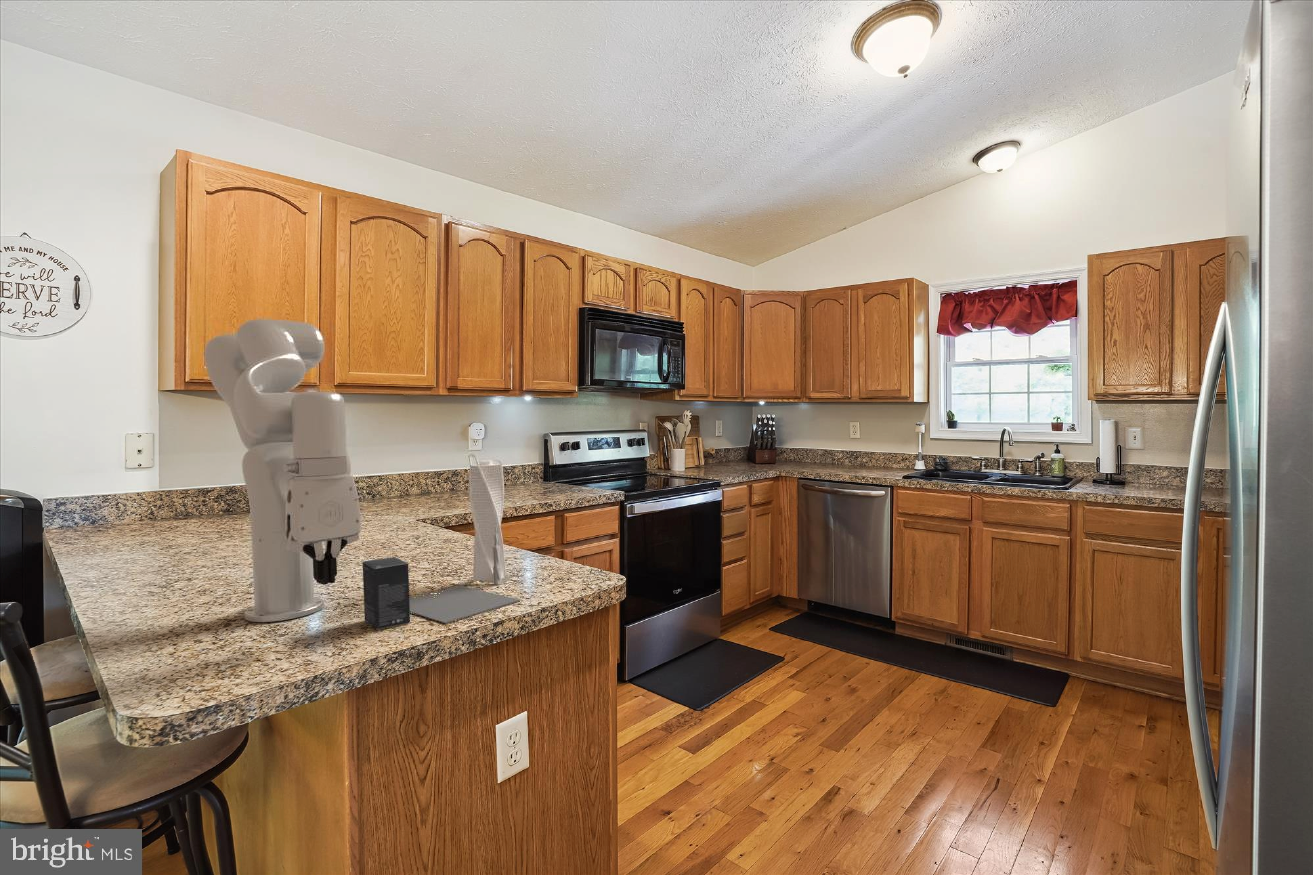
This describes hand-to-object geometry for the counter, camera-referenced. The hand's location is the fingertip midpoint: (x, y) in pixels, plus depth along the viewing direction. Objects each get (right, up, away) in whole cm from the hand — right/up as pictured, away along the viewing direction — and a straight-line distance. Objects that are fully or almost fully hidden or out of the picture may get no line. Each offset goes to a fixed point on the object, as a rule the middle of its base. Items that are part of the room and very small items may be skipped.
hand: (325, 582), depth 99 cm
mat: (+15, -8, +18) cm, 25 cm away
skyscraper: (+17, -8, +35) cm, 40 cm away
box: (+6, -9, +8) cm, 14 cm away
